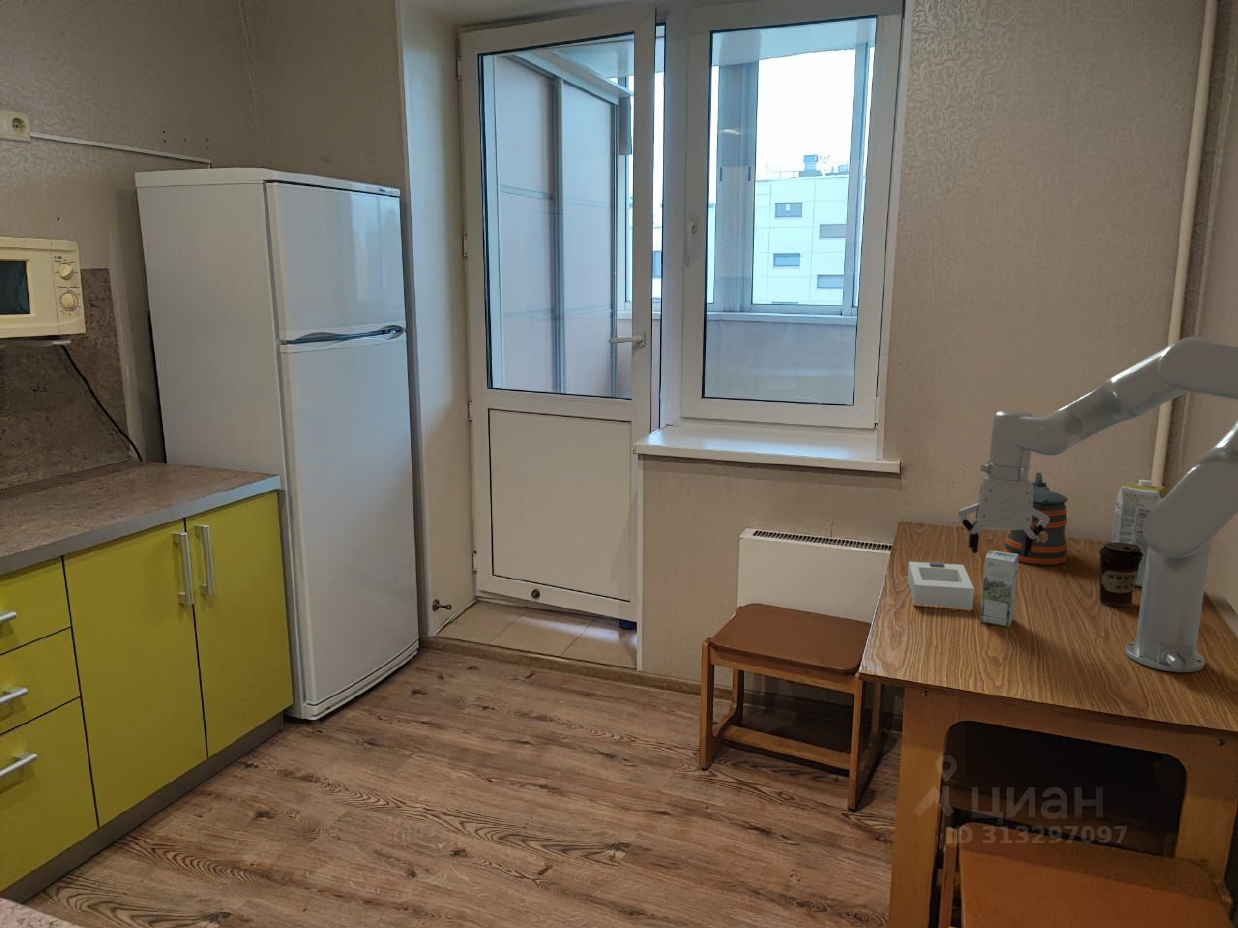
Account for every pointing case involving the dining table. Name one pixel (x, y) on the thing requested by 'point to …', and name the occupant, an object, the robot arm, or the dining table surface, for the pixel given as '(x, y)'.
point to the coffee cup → (1118, 573)
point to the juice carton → (1135, 516)
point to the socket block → (940, 584)
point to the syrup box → (999, 588)
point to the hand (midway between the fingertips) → (998, 553)
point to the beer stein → (1052, 539)
